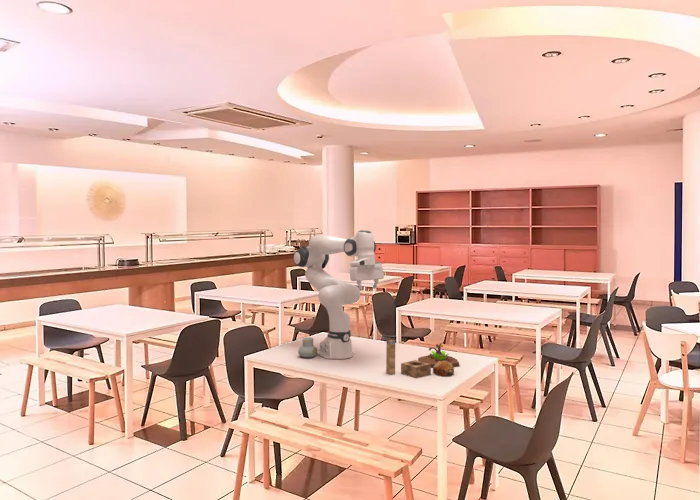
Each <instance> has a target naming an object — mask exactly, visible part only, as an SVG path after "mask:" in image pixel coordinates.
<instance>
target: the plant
mask: <svg viewBox="0 0 700 500" xmlns="http://www.w3.org/2000/svg"><path fill="white" fill-rule="evenodd" d="M435 347H436V348H435ZM435 347H434V346H433V347H432V346H431V347H428V351H431V353H429V354H427V355H424V356H420V357H418V358H417V361H421V362H425V363H428V364H431V369H433V367H434V365H435V364H436V363H437V362H439V361H447V362H449V363H451V364H452V365H453V368H458V367H460V361H458V359H457V358H455V357H453V356H450V355H449V353H446V351H445V350H443V351H442V349H441V348H443V347H444V344H443V343H439V344H437V343H436V345H435ZM432 349H433V350H432Z"/></svg>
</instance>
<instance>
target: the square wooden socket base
mask: <svg viewBox="0 0 700 500" xmlns="http://www.w3.org/2000/svg"><path fill="white" fill-rule="evenodd" d="M431 372H432V368H431V364H428V363H425V362H421V361H418V359H414V360H409V361H405V362H401V363H400V374H401V375H405V376H408V377H411V378H413V379H419V378H422V377H425V376H430V375H432V373H431Z"/></svg>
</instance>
